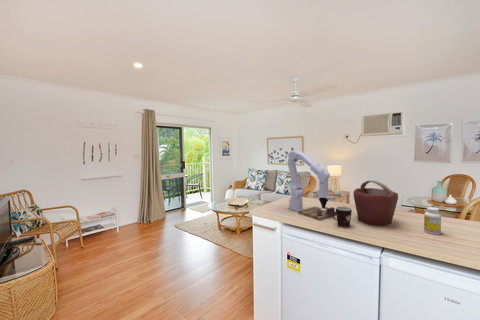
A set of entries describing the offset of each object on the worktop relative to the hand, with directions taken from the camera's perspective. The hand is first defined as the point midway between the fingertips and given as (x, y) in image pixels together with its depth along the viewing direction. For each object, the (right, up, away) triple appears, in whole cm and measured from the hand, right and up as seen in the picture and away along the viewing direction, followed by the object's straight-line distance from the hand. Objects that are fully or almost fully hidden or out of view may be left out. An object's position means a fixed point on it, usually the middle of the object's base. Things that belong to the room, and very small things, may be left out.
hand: (323, 208), depth 144 cm
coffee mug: (+3, -6, -18) cm, 20 cm away
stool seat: (-3, -4, +2) cm, 6 cm away
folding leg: (+1, -2, -2) cm, 3 cm away
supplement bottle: (+45, -5, -32) cm, 55 cm away
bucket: (+25, -5, -14) cm, 29 cm away
